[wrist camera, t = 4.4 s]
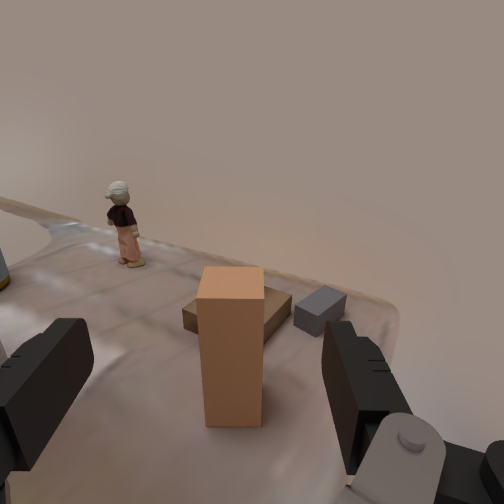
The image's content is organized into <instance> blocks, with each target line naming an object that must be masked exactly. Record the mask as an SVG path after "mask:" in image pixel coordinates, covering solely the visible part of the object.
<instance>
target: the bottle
mask: <svg viewBox="0 0 504 504" xmlns="http://www.w3.org/2000/svg"><path fill="white" fill-rule="evenodd" d="M9 279H10V276H9V272H8V269H7V266H6V263H5V260H4V257H3V255H2V252H1V249H0V289H2V288H3V287H4V286H5V285H6V284H7V282H8V281H9Z"/></svg>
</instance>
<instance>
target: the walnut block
mask: <svg viewBox="0 0 504 504" xmlns="http://www.w3.org/2000/svg"><path fill="white" fill-rule="evenodd" d="M291 302H292V295H290V294H287V293H284V292H281V291H278V290H275V289H272V288H268V287H265V286H264V337H263V345H264V343H265V342H266V341H267V340H268V339H269V338H270V336H271V335H272V334H273V333H274V332H275V331H276V330H277V328H278V327H279V326H280V325H281V324H282V323H283V321H284V320H285V319H286V318H287V317H288V316H289V314H290V313H291ZM182 313H183V324H184V328H185V329H187V330H189V331H192V332H194V333H196V334H198V321H197V308H196V299H195V300H194V301H192V302H191V303H189V304H188V305H187V306H185V307H184V308H182ZM198 335H199V334H198Z"/></svg>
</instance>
